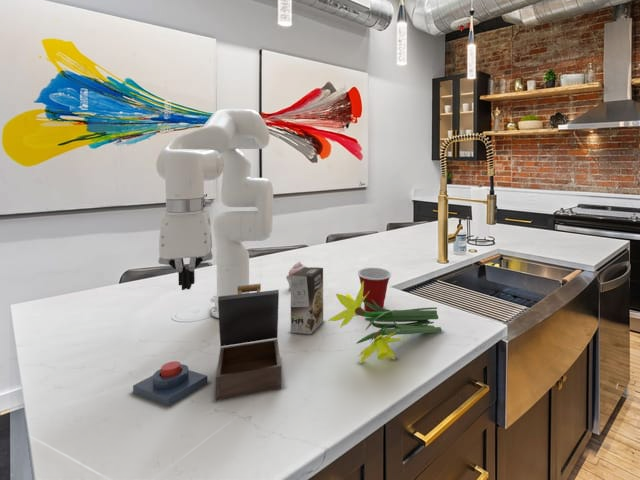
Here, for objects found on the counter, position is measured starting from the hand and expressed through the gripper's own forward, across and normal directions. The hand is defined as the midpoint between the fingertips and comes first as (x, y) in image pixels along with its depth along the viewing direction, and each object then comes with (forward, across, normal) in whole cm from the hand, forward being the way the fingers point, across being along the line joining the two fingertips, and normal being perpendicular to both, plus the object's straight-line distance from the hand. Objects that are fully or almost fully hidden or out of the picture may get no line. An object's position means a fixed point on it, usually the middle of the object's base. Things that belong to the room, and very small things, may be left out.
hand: (186, 287), depth 91 cm
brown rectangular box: (+20, -13, +6) cm, 24 cm away
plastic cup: (+21, -50, -23) cm, 59 cm away
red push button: (+16, +3, +5) cm, 17 cm away
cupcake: (+21, -30, -52) cm, 63 cm away
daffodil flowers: (+20, -48, +4) cm, 52 cm away
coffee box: (+20, -28, -16) cm, 39 cm away
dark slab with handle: (+8, -13, +3) cm, 16 cm away
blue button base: (+20, +3, +5) cm, 20 cm away
